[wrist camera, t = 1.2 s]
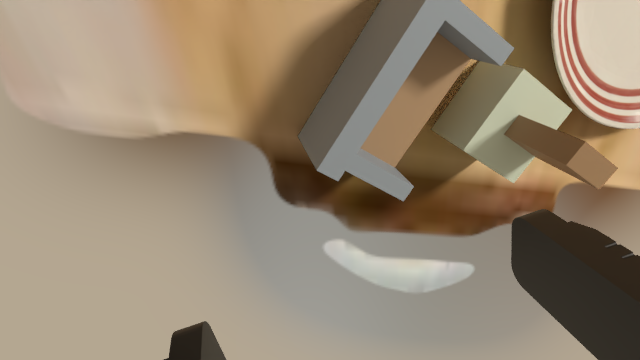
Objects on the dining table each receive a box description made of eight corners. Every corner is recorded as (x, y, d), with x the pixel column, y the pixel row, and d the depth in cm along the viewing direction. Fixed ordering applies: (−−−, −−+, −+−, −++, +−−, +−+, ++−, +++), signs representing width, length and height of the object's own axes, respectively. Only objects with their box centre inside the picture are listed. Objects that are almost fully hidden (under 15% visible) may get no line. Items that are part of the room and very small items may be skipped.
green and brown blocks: (430, 129, 39) (517, 184, 28) (480, 58, 37) (596, 86, 26) (476, 159, 42) (572, 221, 31) (525, 94, 40) (648, 134, 29)
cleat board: (297, 136, 36) (316, 170, 29) (397, -28, 32) (447, -34, 25) (364, 172, 40) (396, 211, 33) (463, 27, 36) (523, 35, 29)
